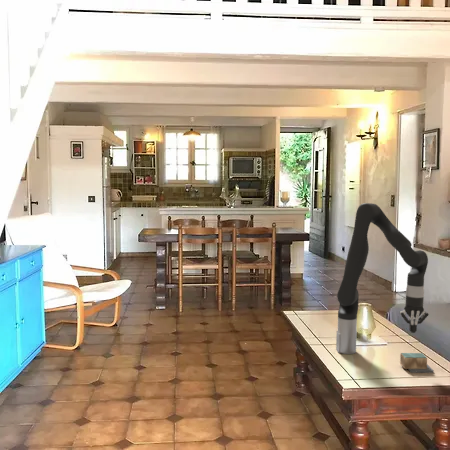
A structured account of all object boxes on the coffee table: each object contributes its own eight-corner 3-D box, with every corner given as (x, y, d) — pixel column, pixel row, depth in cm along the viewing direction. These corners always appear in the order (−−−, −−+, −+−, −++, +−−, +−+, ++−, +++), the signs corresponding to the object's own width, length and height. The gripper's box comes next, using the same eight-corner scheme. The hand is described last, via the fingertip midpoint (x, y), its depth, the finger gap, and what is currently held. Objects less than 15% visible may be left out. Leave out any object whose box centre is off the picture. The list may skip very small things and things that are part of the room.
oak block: (404, 357, 230) (427, 357, 230) (400, 352, 236) (422, 352, 236) (404, 368, 231) (426, 368, 231) (400, 363, 237) (421, 363, 236)
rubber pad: (410, 372, 229) (411, 370, 229) (403, 364, 239) (403, 362, 239) (433, 372, 229) (433, 370, 228) (425, 364, 238) (425, 362, 238)
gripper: (402, 296, 227) (400, 334, 228) (432, 297, 226) (430, 335, 228) (397, 292, 234) (395, 329, 236) (426, 293, 234) (424, 330, 235)
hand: (412, 332), depth 232 cm, fingers closed
